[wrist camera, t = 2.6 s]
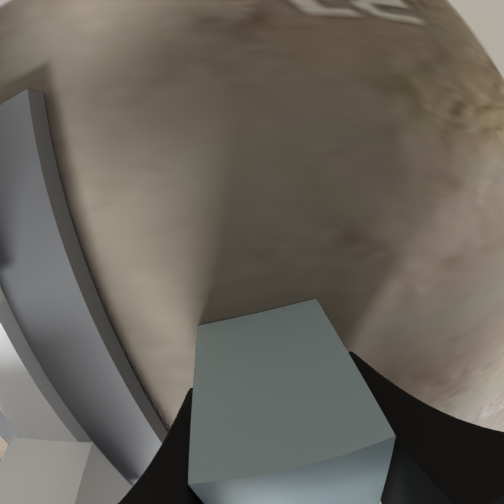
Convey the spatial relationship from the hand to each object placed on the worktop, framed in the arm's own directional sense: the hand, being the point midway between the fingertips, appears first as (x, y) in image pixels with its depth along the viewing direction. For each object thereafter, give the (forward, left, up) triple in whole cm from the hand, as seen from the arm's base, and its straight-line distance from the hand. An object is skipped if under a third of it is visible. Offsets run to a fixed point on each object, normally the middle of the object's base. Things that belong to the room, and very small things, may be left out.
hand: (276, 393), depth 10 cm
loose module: (0, 0, -2) cm, 2 cm away
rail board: (0, +10, -2) cm, 10 cm away
